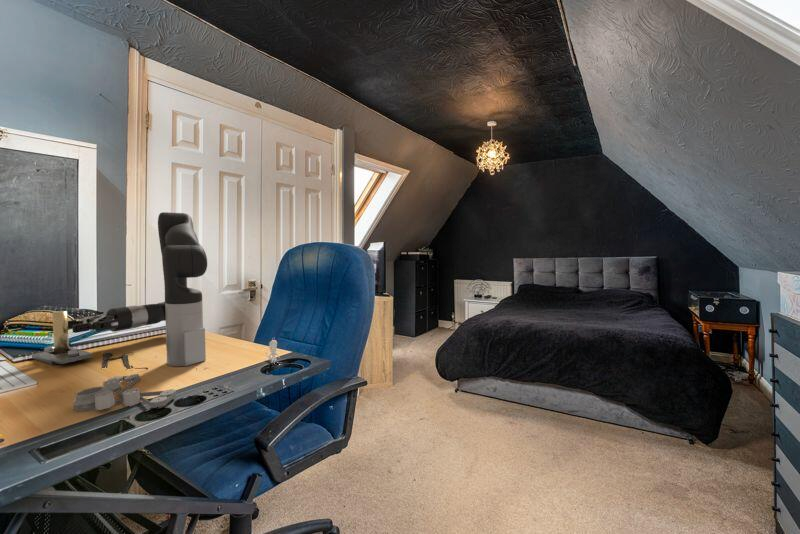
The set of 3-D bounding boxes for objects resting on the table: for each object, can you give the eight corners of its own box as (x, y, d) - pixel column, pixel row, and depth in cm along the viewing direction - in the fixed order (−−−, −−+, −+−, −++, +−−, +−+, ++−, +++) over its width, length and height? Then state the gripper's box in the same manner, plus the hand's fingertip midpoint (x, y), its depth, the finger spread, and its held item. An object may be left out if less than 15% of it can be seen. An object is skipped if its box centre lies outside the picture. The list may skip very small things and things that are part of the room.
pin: (71, 359, 109) (69, 311, 108) (57, 362, 106) (55, 313, 105) (66, 357, 110) (64, 310, 109) (52, 360, 107) (50, 312, 107)
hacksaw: (103, 357, 112) (102, 352, 112) (144, 351, 118) (144, 346, 118) (99, 380, 93) (98, 375, 93) (148, 372, 99) (148, 366, 99)
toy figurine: (268, 367, 102) (267, 340, 102) (257, 361, 108) (256, 335, 108) (286, 363, 106) (286, 337, 105) (274, 357, 112) (274, 333, 111)
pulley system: (98, 435, 68) (185, 402, 80) (95, 410, 67) (182, 381, 79) (56, 403, 83) (133, 379, 96) (53, 382, 83) (131, 361, 95)
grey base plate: (92, 361, 107) (92, 348, 106) (61, 368, 100) (60, 354, 100) (61, 352, 115) (61, 340, 115) (31, 358, 109) (30, 345, 109)
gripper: (115, 305, 126) (54, 312, 112) (139, 308, 119) (77, 317, 105) (116, 326, 126) (55, 337, 112) (140, 331, 120) (78, 343, 106)
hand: (66, 327), depth 109 cm, fingers open, 8 cm apart
